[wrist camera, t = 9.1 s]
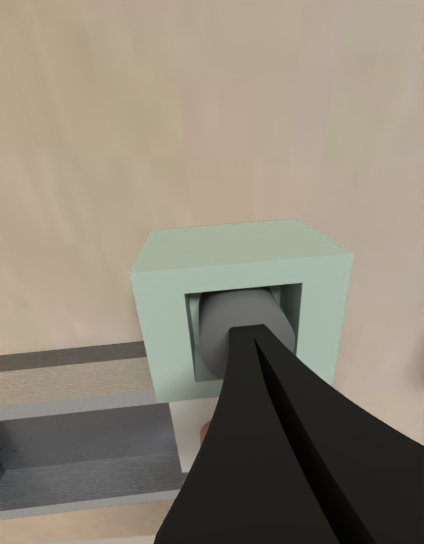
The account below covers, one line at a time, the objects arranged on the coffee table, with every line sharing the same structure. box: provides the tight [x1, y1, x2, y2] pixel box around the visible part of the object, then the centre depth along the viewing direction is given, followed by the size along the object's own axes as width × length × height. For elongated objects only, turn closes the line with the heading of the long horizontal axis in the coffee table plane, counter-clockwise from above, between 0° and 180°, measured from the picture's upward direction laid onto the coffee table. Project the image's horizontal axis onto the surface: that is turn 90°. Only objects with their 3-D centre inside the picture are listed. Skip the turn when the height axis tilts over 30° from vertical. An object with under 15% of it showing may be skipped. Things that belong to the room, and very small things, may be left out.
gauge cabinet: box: [129, 218, 354, 403], centre depth 13 cm, size 6×8×6 cm
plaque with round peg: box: [169, 397, 219, 473], centre depth 15 cm, size 7×6×6 cm
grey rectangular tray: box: [0, 341, 219, 520], centre depth 17 cm, size 10×22×4 cm, turn 94°
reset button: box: [199, 286, 295, 380], centre depth 11 cm, size 4×4×3 cm
